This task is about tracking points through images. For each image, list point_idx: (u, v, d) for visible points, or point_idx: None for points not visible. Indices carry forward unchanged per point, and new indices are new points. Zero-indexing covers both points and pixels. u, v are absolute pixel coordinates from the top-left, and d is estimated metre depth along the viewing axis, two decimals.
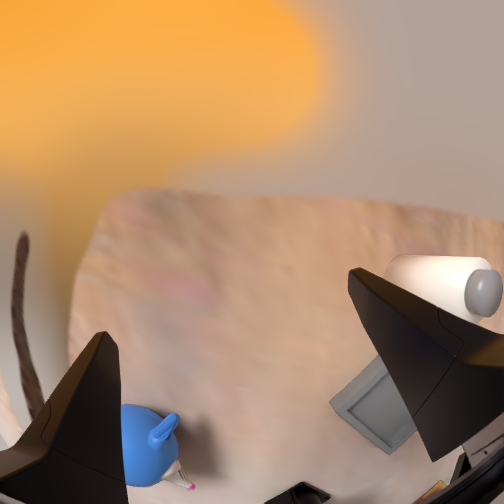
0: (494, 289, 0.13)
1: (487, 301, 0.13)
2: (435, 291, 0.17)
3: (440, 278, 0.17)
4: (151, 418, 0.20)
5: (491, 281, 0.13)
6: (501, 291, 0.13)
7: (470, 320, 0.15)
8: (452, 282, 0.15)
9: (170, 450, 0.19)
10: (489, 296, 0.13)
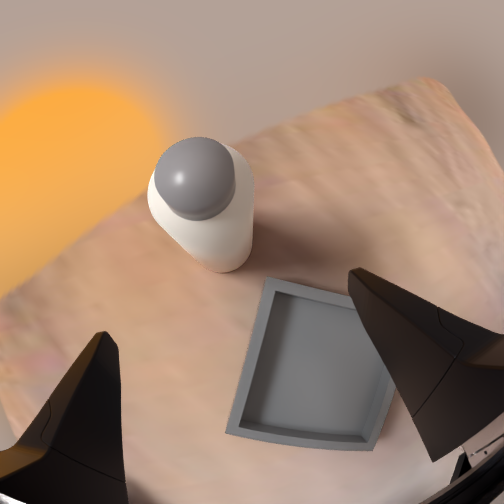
0: (197, 160, 0.11)
1: (188, 184, 0.10)
2: None
3: None
4: None
5: (180, 157, 0.11)
6: (224, 152, 0.11)
7: (213, 229, 0.12)
8: None
9: None
10: (189, 176, 0.10)
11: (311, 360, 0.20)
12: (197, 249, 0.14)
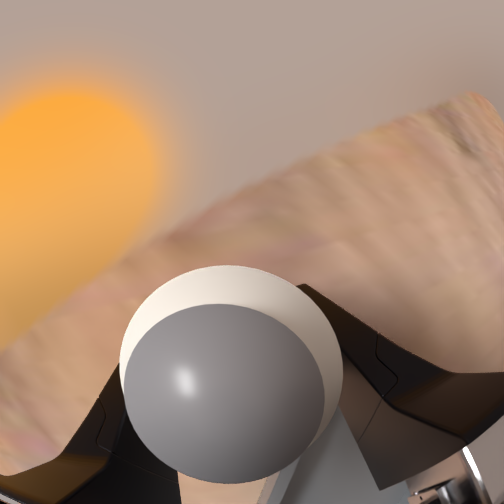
0: (230, 381, 0.04)
1: (214, 439, 0.04)
2: None
3: None
4: None
5: (181, 365, 0.04)
6: (301, 355, 0.04)
7: None
8: None
9: None
10: (212, 420, 0.04)
11: (349, 464, 0.13)
12: None
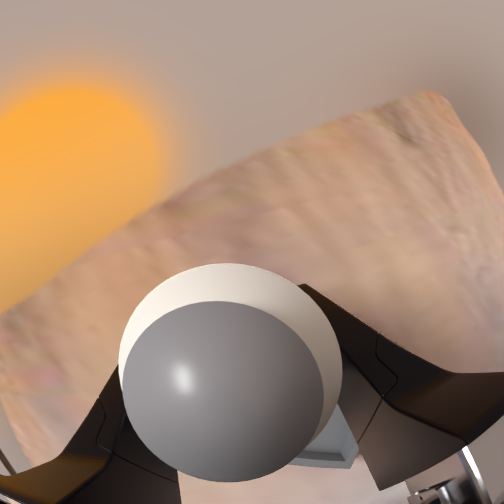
0: (229, 378, 0.04)
1: (213, 437, 0.04)
2: None
3: None
4: None
5: (180, 362, 0.04)
6: (299, 352, 0.04)
7: None
8: None
9: None
10: (211, 418, 0.04)
11: None
12: None
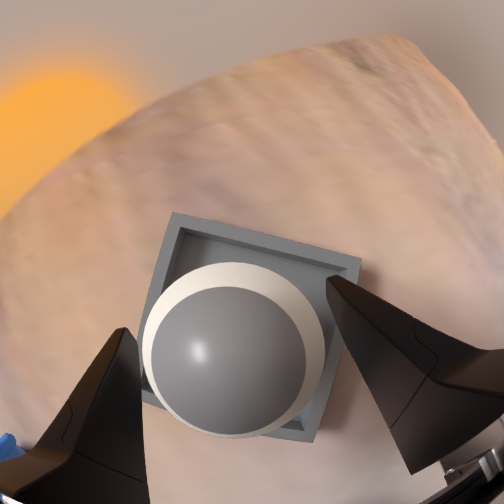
0: (234, 344, 0.05)
1: (221, 393, 0.05)
2: None
3: None
4: None
5: (198, 333, 0.05)
6: (287, 325, 0.06)
7: None
8: None
9: None
10: (220, 376, 0.05)
11: None
12: None
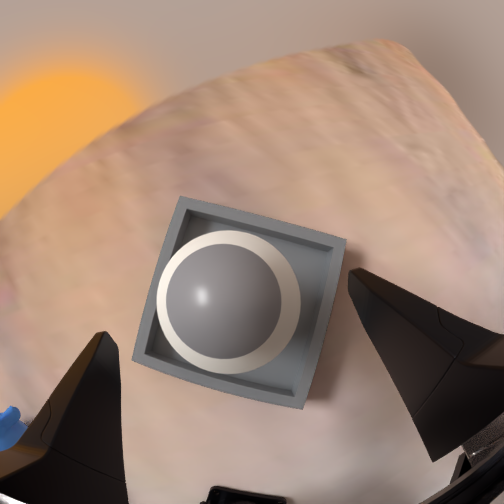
0: (228, 286, 0.08)
1: (217, 324, 0.07)
2: None
3: None
4: None
5: (202, 277, 0.08)
6: (267, 272, 0.08)
7: (247, 362, 0.09)
8: None
9: (12, 441, 0.12)
10: (217, 310, 0.08)
11: None
12: None
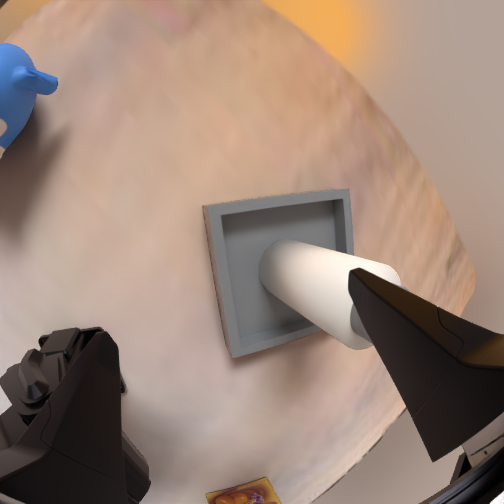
0: None
1: None
2: (319, 277, 0.15)
3: (333, 265, 0.15)
4: None
5: None
6: None
7: (347, 338, 0.13)
8: (348, 272, 0.14)
9: (17, 101, 0.10)
10: None
11: None
12: (315, 313, 0.15)
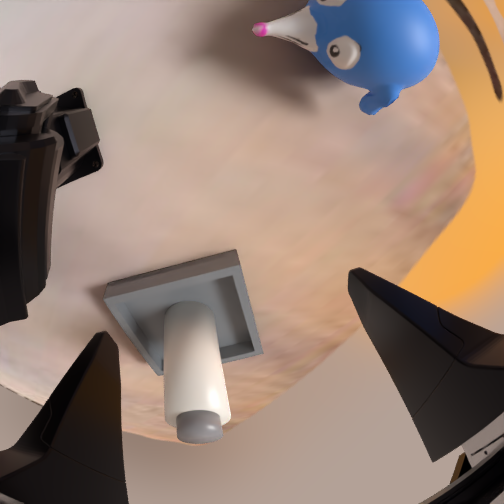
0: (201, 438, 0.16)
1: (196, 434, 0.16)
2: (208, 376, 0.18)
3: (219, 383, 0.19)
4: None
5: (212, 437, 0.16)
6: (192, 442, 0.17)
7: (173, 411, 0.16)
8: (220, 399, 0.17)
9: (364, 83, 0.13)
10: (199, 435, 0.16)
11: None
12: (181, 381, 0.18)
